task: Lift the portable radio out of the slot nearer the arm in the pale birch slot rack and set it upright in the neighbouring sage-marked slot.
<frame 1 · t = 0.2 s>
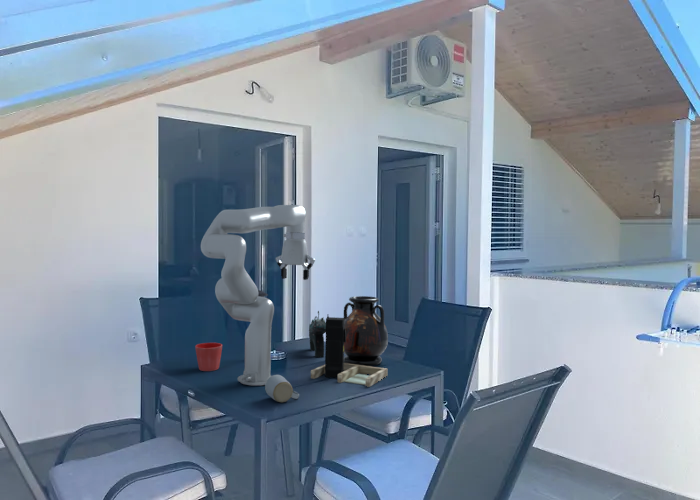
hand: (294, 279, 232), 37 cm above the table, tool pointing down, fingers open, 9 cm apart
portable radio: (335, 376, 222), resting in slot rack
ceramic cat: (315, 354, 262), on the table
solar garden light: (253, 360, 247), on the table
amphora vase: (362, 362, 246), on the table
flower pot: (208, 369, 230), on the table
ceramic mug: (282, 400, 191), on the table
slot rack: (348, 377, 220), on the table
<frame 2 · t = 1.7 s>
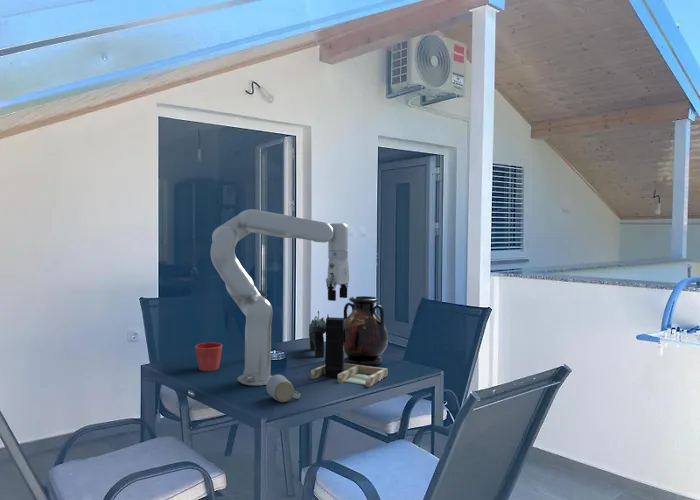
hand: (337, 299, 221), 30 cm above the table, tool pointing down, fingers open, 9 cm apart
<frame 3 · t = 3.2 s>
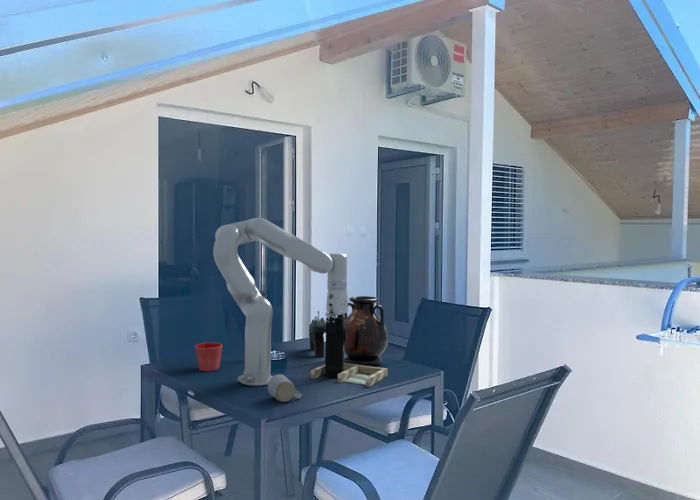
hand: (336, 330, 222), 18 cm above the table, tool pointing down, fingers closed on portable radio, 6 cm apart
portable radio: (335, 376, 222), resting in slot rack, touching gripper
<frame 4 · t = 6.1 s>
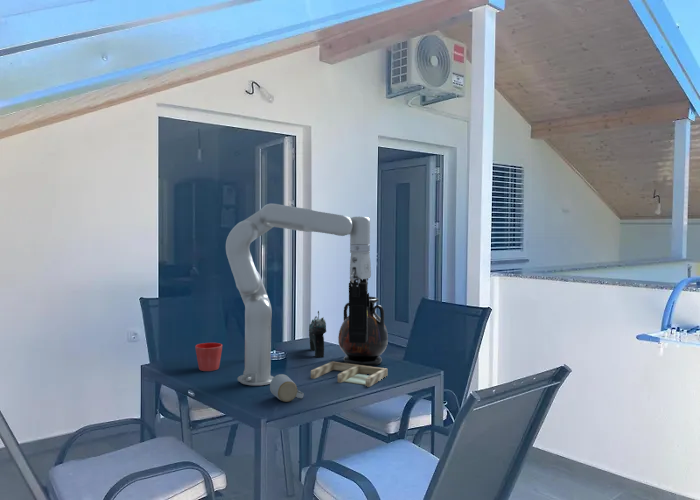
hand: (359, 295, 217), 32 cm above the table, tool pointing down, fingers closed on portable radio, 6 cm apart
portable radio: (359, 342, 218), point 14 cm above the table, touching gripper
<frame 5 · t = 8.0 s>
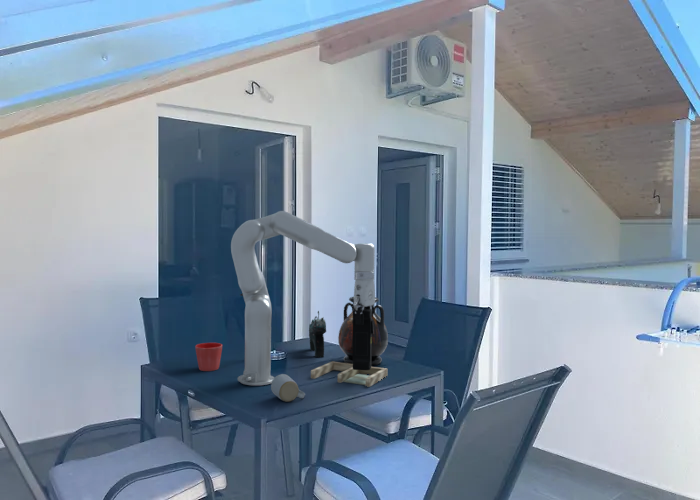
hand: (363, 322, 217), 22 cm above the table, tool pointing down, fingers closed on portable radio, 6 cm apart
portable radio: (363, 368, 218), point 4 cm above the table, touching gripper
when the fingers open (19 cm above the table, at t = 9.1 s): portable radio drops 1 cm, resting on slot rack.
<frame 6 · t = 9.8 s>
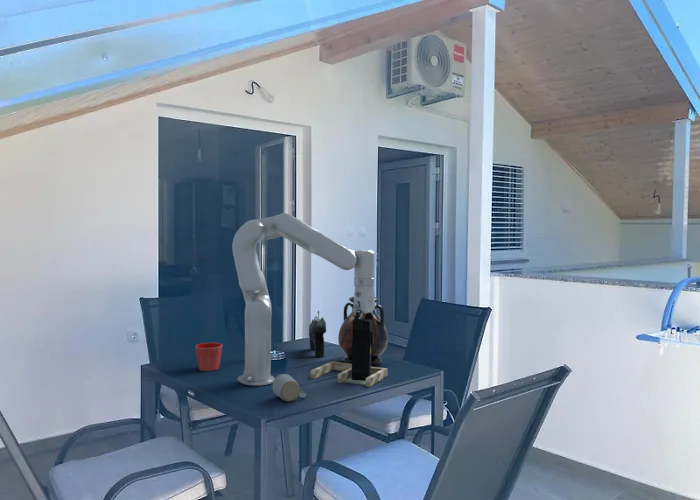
hand: (363, 327, 217), 20 cm above the table, tool pointing down, fingers open, 9 cm apart
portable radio: (362, 379, 218), resting on slot rack
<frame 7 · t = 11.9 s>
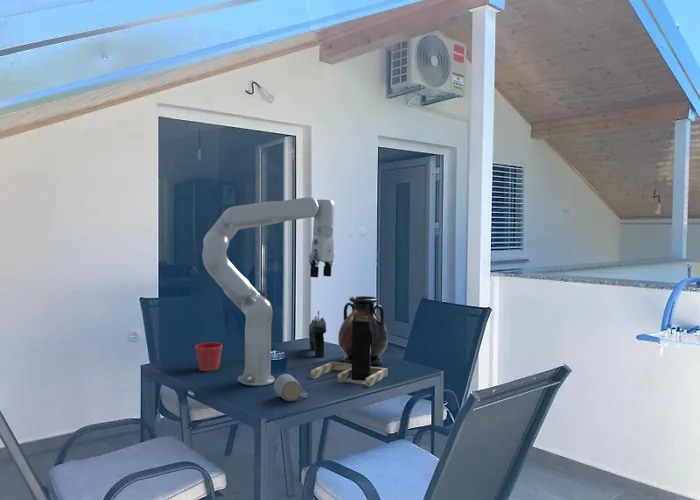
hand: (320, 276, 218), 39 cm above the table, tool pointing down, fingers open, 9 cm apart
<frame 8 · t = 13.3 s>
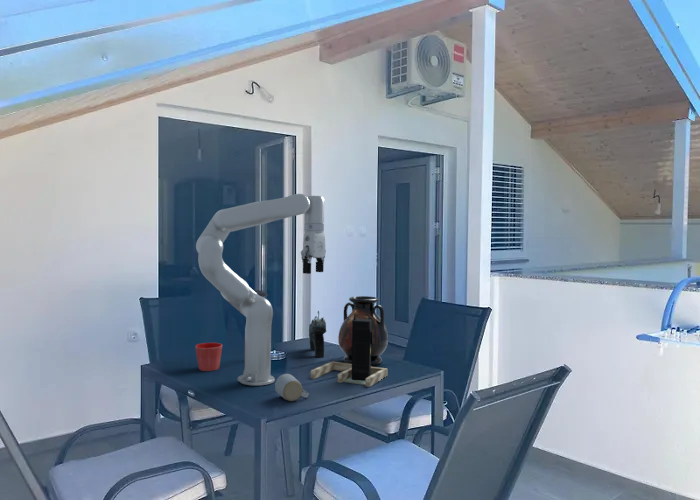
hand: (313, 272, 219), 40 cm above the table, tool pointing down, fingers open, 9 cm apart
at the end: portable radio 0.4 cm from the target spot on the slot rack, point 0.1 cm above the slot rack's base; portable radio tilted 0°; the gripper is holding nothing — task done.
